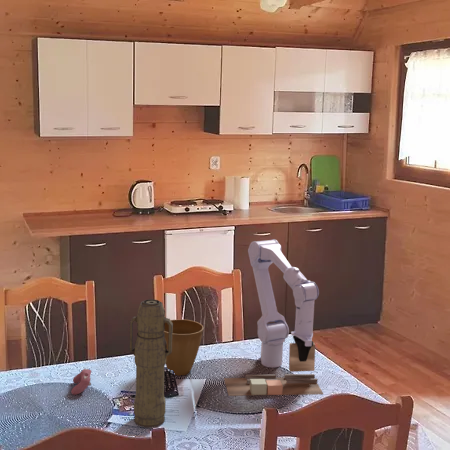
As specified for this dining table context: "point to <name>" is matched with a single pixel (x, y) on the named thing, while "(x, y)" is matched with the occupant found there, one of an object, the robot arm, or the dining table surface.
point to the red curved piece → (81, 381)
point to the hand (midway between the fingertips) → (301, 359)
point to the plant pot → (183, 345)
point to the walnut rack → (290, 382)
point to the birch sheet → (295, 362)
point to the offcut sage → (258, 386)
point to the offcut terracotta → (274, 387)
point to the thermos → (150, 362)
